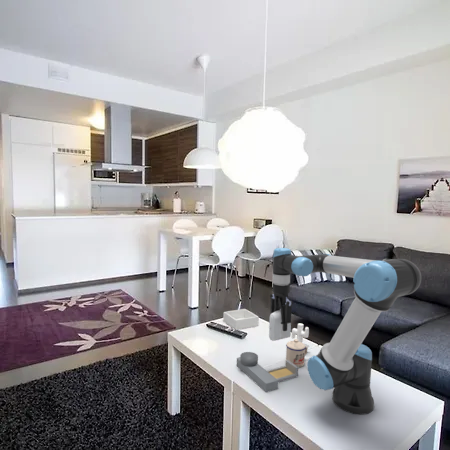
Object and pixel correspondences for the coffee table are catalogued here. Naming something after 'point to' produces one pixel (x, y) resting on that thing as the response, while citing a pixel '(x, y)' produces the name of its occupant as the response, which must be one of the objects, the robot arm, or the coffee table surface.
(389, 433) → the coffee table surface
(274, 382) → the deck
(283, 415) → the coffee table surface
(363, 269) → the robot arm
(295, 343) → the teacup with lid
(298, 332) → the figurine
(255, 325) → the box
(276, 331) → the photo printer
